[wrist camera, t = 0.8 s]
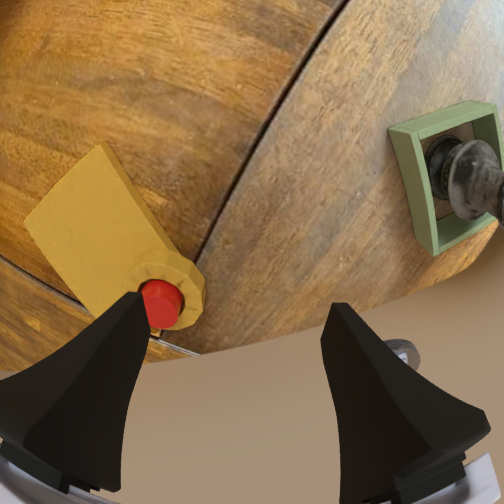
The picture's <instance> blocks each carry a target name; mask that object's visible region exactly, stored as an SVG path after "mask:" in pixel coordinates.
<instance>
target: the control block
mask: <svg viewBox="0 0 504 504" xmlns="http://www.w3.org/2000/svg"><path fill="white" fill-rule="evenodd" d="M23 224H24V226H25V227H26V229H27V230H28V232H29V233H30V235H31V236H32V238H33V240H34V241H35V242H36V244H37V245H38V247H39V248H40V250H41V251H42V253H43V254H44V255H45V257H46V258H47V260H48V261H49V262H50V264H51V265H52V266H53V268H54V269H55V270H56V272H57V273H58V274H59V276H60V277H61V278H62V279H63V281H64V282H65V283H66V284H67V286H68V287H69V288H70V289H71V290H72V292H73V293H74V294H75V295H76V296H77V298H78V299H79V300H80V301H81V302H82V303H83V305H84V306H85V307H86V308H87V309H88V310H89V311H90V312H91V313H92V315H93V316H94V317H95V318H96V319H97V318H98V317H99V316H101V315H102V314H103V313H104V312H105V311H106V310H107V309H108V308H109V307H111V306H112V305H113V304H114V303H115V302H116V301H117V300H118V299H119V298H121V297H122V296H123V295H124V294H125V293H127V292H128V291H130V292H140V293H141V291H142V289H143V287H144V285H145V284H146V283H147V282H149V281H151V280H155V279H160V280H165V281H167V282H169V283H171V284H173V285H174V286H176V287H177V288H178V290H179V291H180V293H181V295H182V305H181V309H180V312H179V315H178V319H177V322H176V323H175V324H174V325H173V326H172V327H169V328H165V329H166V330H179V329H182V328H185V327H188V326H190V325H193V324H194V323H195V322H196V320H197V319H198V317H199V316H200V315H201V313H202V312H203V308H204V303H205V298H206V289H205V279H204V277H203V276H202V274H201V273H200V272H199V270H198V269H197V267H196V266H195V265H194V263H193V262H192V261H190V260H189V259H187V258H185V257H183V256H182V255H181V254H180V253H179V251H178V250H177V248H176V247H175V246H174V244H173V243H172V241H171V240H170V238H169V237H168V235H167V234H166V233H165V231H164V230H163V228H162V227H161V225H160V224H159V222H158V221H157V219H156V218H155V216H154V215H153V213H152V212H151V210H150V209H149V207H148V206H147V204H146V203H145V201H144V200H143V198H142V197H141V195H140V194H139V192H138V191H137V189H136V187H135V186H134V184H133V183H132V181H131V180H130V178H129V176H128V175H127V173H126V172H125V170H124V168H123V167H122V165H121V164H120V162H119V160H118V159H117V157H116V155H115V154H114V152H113V150H112V149H111V147H110V145H109V144H108V142H107V141H105V142H102V143H99V144H98V145H96V146H95V147H94V148H93V149H92V150H91V151H90V152H89V153H87V154H86V155H85V156H84V157H83V158H82V159H81V160H80V161H79V162H78V163H77V164H76V165H75V166H74V167H73V168H71V169H70V170H69V171H68V172H67V173H66V174H65V175H64V176H63V177H62V179H61V180H60V181H59V182H58V183H57V184H56V185H55V186H54V187H53V188H52V189H51V190H50V191H49V192H48V193H47V195H46V196H45V197H44V198H43V199H42V200H41V201H40V202H39V204H38V205H37V206H36V207H35V208H34V210H33V211H32V212H31V213H30V214H29V216H28V217H27V218H26V219H25V221H24V222H23ZM158 329H159V328H158Z"/></svg>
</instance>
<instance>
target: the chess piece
mask: <svg viewBox="0 0 504 504" xmlns="http://www.w3.org/2000/svg"><path fill="white" fill-rule="evenodd" d="M425 164H426V168H427V172H428V177H429V182H430V187H431V192H432V194H433V195H434V196H435V197H437V198H439V199H442V200H448V202H449V203H450V205H451V207H452V209H453V211H454V212H455V214H456V215H457V216H458V217H460V218H461V219H463V220H466V221H473V220H477V219H478V218H480V217H482V216H483V215H484V214H485V213H486V212H488V213H489V214H491V215H492V216H494V217H495V218H497V219H498V222H499V224H500V226H501V227H502V228H503V229H504V172H503V171H501V170H500V169H499V163H498V160H497V156H496V154H495V153H494V151H493V149H492V148H491V147H490V146H489V145H488V144H487V143H486V142H484V141H482V140H472V141H469V142H464V143H463V142H462V141H460V140H459V139H458V138H457V137H454V136H451V135H444V136H441V137H439V138H437V139H436V140H435V141H434V142H433V143H432V144H431V146H430V147H429V149H428V151H427V154H426V156H425Z"/></svg>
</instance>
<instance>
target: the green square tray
mask: <svg viewBox="0 0 504 504" xmlns="http://www.w3.org/2000/svg"><path fill="white" fill-rule="evenodd" d="M469 121H472V123H473V127H474V132H475V137H476V140H482V141H484V142H486V143H487V144H488V145H489V146H490V147H491V148H492V149H493V151H494V153H495V154H496V156H497V160H498V163H499V169H500V170H501V171H503V172H504V146H503V139H502V133H501V127H500V122H499V117H498V112H497V108H496V104H492V103H486V102H480V101H473V100H470V101H467V102H463V103H460V104H457V105H454V106H450V107H447V108H444V109H441V110H438V111H435V112H432V113H429V114H426V115H423V116H420V117H418V118H415V119H412V120H409V121H406V122H404V123H401V124H398V125H395V126H393V127H390V128H388V132H389V135H390V138H391V141H392V144H393V147H394V150H395V154H396V157H397V160H398V164H399V167H400V171H401V174H402V178H403V182H404V186H405V190H406V194H407V199H408V203H409V208H410V212H411V217H412V222H413V228H414V234H415V239H416V240H417V241H418V242H419V243H420V244H421V245H422V246H423V247H424V248H425V249H426V250H427V251H428V252H429V253H430V254H431V255H432V256H433V257H435V256H437V255H438V254H439V253H442V252H444V251H446V250H447V249H449V248H451V247H453V246H454V245H456V244H458V243H460V242H461V241H463V240H465V239H466V238H468V237H470V236H471V235H473V234H475V233H476V232H478V231H479V230H481V229H483V228H484V227H486V226H487V225H489V224H490V223H492V222H494V221H495V220H497V218H495V217H494V216H492V215H491V214H489V213H488V212H486V213H485V214H484V215H483V216H482V217H480V218H478V219H477V220H473V221H466V220H463V219H461V218H460V217H458V216H457V215H456V214H455V212H453V213H452V214H450V215H448V216H446V217H444V218H442V219H440V220H438V221H436V217H435V210H434V204H433V198H432V192H431V187H430V182H429V177H428V172H427V168H426V164H425V159H424V155H423V151H422V148H421V144H420V140H422V139H424V138H427V137H429V136H432V135H434V134H437V133H440V132H442V131H445V130H448V129H450V128H453V127H456V126H458V125H461V124H464V123H466V122H469Z"/></svg>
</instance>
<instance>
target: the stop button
mask: <svg viewBox="0 0 504 504" xmlns="http://www.w3.org/2000/svg"><path fill="white" fill-rule="evenodd" d="M141 293H142V294H143V299H144V304H145V308H146V313H147V317H148V321H149V325H150V326H151V327H154V328H159V329H165V328H169V327H172V326H173V325H174V324H175V323H176V322H177V319H178V315H179V312H180V309H181V305H182V295H181V293H180V291H179V290H178V288H177V287H176V286H174V285H173V284H171V283H169V282H167V281H165V280H160V279H155V280H151V281H149V282H147V283H146V284H145V285H144V287H143V289H142V291H141Z"/></svg>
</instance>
